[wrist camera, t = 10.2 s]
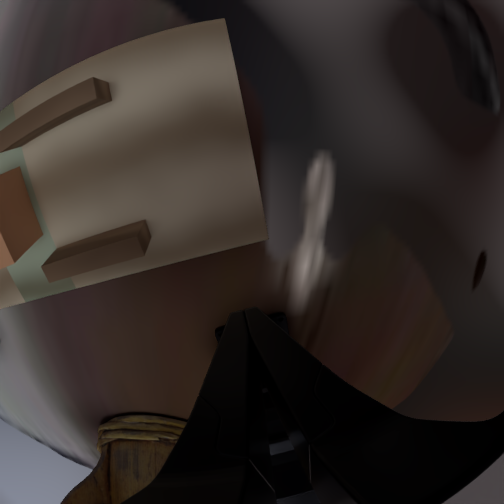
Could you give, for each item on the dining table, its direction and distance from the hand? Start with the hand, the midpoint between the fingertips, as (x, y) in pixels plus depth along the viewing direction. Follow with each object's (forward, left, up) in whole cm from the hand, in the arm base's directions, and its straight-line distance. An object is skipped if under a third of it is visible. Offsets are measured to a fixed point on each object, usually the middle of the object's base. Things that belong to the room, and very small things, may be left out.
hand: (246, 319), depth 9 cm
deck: (+5, +11, -12) cm, 17 cm away
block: (+5, +15, -9) cm, 18 cm away
